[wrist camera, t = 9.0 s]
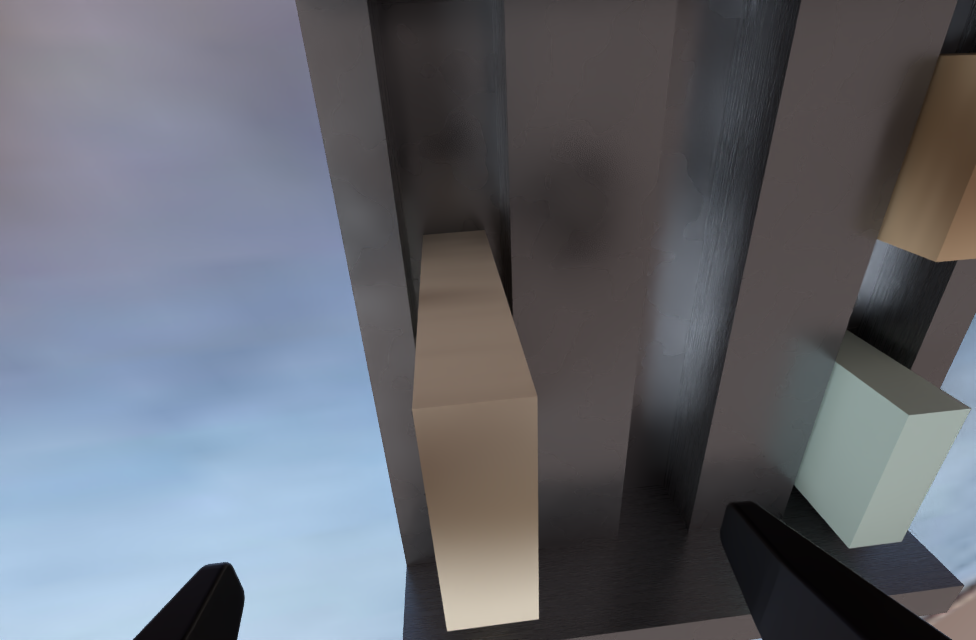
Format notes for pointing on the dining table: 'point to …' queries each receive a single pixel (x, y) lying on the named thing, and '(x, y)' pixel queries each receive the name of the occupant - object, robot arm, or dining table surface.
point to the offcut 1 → (939, 170)
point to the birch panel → (476, 436)
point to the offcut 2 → (875, 445)
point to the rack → (644, 266)
